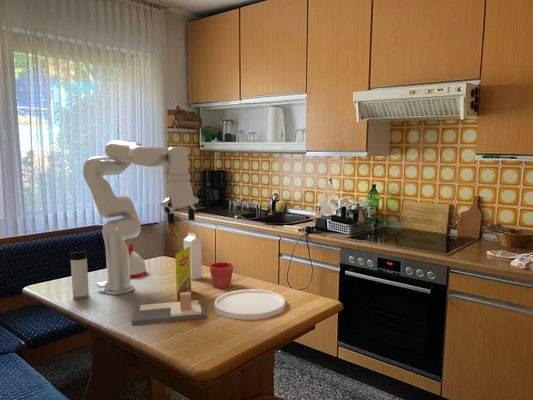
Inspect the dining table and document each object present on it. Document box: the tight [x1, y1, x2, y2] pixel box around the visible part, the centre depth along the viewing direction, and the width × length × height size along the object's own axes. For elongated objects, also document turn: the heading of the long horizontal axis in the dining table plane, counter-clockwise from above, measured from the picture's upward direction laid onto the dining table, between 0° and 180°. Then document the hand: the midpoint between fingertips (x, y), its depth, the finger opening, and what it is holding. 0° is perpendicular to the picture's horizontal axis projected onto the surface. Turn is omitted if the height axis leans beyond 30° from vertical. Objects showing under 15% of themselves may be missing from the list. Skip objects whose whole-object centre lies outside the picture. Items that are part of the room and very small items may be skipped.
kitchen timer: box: [128, 244, 147, 279], centre depth 213 cm, size 14×14×15 cm
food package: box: [175, 246, 192, 302], centre depth 179 cm, size 15×1×20 cm, turn 168°
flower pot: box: [208, 261, 234, 289], centre depth 193 cm, size 11×11×10 cm
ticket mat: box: [131, 299, 207, 326], centre depth 160 cm, size 26×15×2 cm, turn 102°
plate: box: [213, 288, 286, 321], centre depth 168 cm, size 28×28×2 cm
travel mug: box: [69, 250, 90, 300], centre depth 180 cm, size 6×7×20 cm
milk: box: [183, 232, 203, 281], centre depth 205 cm, size 6×6×22 cm
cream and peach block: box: [171, 291, 202, 317], centre depth 158 cm, size 11×8×7 cm
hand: (181, 221), depth 168 cm, fingers open, 9 cm apart
